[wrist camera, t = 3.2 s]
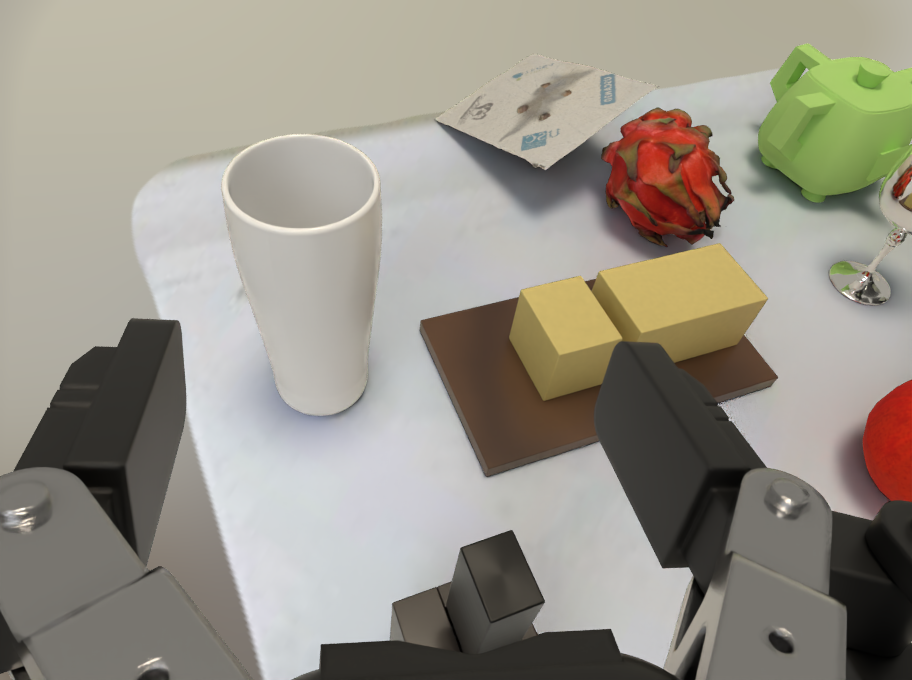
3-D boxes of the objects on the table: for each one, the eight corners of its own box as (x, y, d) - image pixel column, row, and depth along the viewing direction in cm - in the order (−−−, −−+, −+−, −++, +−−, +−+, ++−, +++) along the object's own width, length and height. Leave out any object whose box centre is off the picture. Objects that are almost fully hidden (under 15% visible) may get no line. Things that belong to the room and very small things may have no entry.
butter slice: (564, 323, 44) (581, 275, 40) (602, 384, 41) (623, 338, 37) (508, 338, 42) (520, 289, 39) (543, 401, 40) (559, 355, 36)
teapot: (742, 194, 56) (801, 85, 48) (745, 119, 63) (796, 14, 55) (888, 231, 54) (972, 126, 47) (874, 151, 62) (945, 48, 54)
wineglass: (885, 325, 48) (1008, 190, 38) (808, 282, 50) (908, 144, 40) (909, 283, 51) (1029, 148, 41) (836, 244, 53) (935, 107, 43)
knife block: (487, 606, 33) (505, 561, 28) (530, 714, 30) (559, 684, 26) (389, 643, 32) (391, 602, 27) (425, 761, 29) (435, 738, 24)
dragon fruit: (615, 176, 58) (675, 291, 52) (558, 140, 52) (619, 265, 46) (702, 107, 53) (778, 224, 48) (650, 58, 47) (729, 187, 42)
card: (545, 100, 64) (532, 50, 60) (668, 139, 53) (660, 81, 50) (451, 166, 61) (432, 118, 58) (560, 221, 51) (544, 166, 47)
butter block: (694, 290, 47) (720, 242, 43) (737, 345, 44) (769, 298, 40) (580, 319, 44) (598, 270, 40) (618, 379, 41) (641, 333, 38)
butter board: (677, 267, 49) (682, 257, 49) (771, 386, 43) (778, 377, 43) (419, 330, 43) (420, 320, 43) (486, 477, 37) (488, 468, 37)
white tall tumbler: (288, 449, 37) (249, 253, 26) (247, 359, 41) (197, 150, 29) (399, 405, 40) (409, 207, 28) (352, 324, 43) (344, 118, 32)
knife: (466, 642, 32) (511, 525, 21) (487, 700, 30) (547, 605, 20) (430, 657, 31) (458, 544, 21) (450, 716, 30) (491, 627, 19)
